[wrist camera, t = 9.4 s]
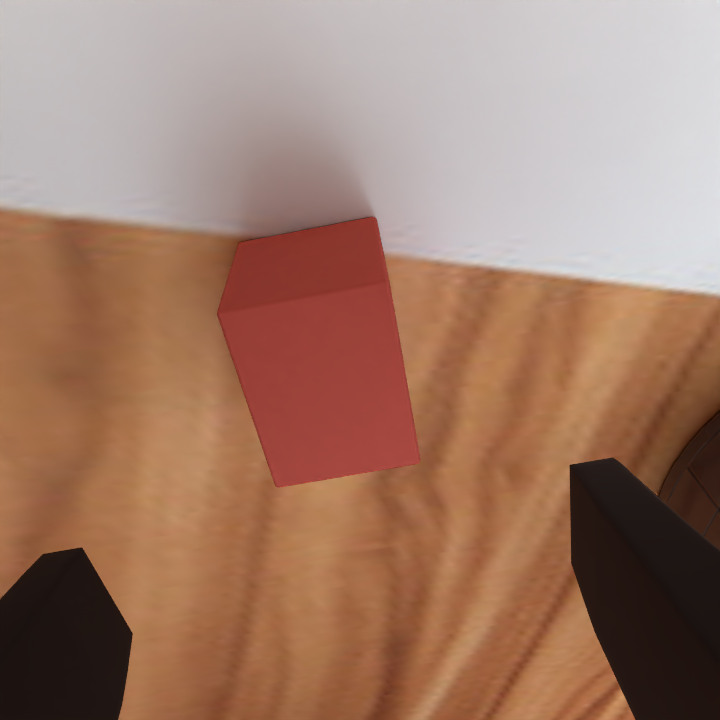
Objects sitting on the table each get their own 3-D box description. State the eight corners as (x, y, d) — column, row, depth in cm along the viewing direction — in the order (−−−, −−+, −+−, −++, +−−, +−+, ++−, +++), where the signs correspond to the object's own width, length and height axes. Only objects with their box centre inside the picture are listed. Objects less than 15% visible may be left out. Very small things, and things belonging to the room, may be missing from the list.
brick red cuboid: (404, 376, 17) (421, 464, 14) (283, 397, 17) (275, 489, 14) (376, 214, 14) (389, 279, 11) (237, 242, 15) (214, 312, 12)
